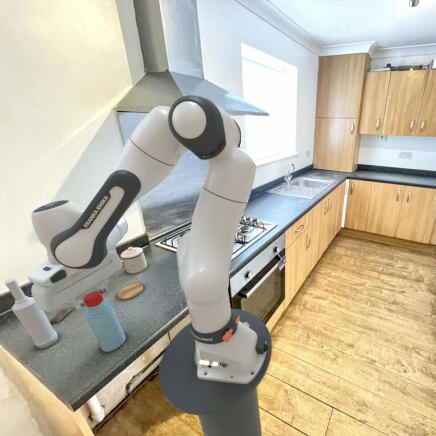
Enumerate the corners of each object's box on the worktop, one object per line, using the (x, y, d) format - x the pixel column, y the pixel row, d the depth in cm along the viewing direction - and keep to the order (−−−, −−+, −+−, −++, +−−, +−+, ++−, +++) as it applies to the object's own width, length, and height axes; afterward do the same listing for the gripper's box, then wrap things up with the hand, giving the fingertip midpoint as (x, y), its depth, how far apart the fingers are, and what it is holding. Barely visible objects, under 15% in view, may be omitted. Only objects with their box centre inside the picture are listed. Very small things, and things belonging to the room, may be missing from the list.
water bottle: (130, 336, 78) (111, 291, 70) (111, 354, 72) (88, 307, 64) (115, 332, 79) (95, 287, 71) (96, 348, 74) (72, 302, 66)
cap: (106, 299, 70) (103, 292, 69) (93, 309, 66) (89, 301, 65) (97, 296, 71) (93, 289, 70) (83, 306, 67) (79, 298, 66)
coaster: (148, 286, 100) (147, 285, 100) (129, 301, 92) (129, 300, 92) (132, 282, 103) (131, 281, 102) (112, 296, 95) (112, 295, 94)
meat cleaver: (76, 311, 88) (66, 308, 89) (75, 308, 88) (65, 306, 89) (37, 336, 78) (27, 333, 79) (36, 333, 77) (26, 330, 78)
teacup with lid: (142, 260, 118) (135, 240, 113) (151, 266, 113) (145, 246, 109) (115, 273, 109) (107, 252, 104) (124, 280, 104) (116, 258, 99)
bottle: (40, 351, 73) (-1, 289, 63) (34, 344, 75) (-7, 283, 65) (61, 339, 77) (25, 278, 67) (55, 332, 79) (19, 273, 69)
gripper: (105, 239, 72) (118, 275, 78) (18, 280, 54) (43, 323, 60) (120, 242, 71) (132, 279, 76) (36, 286, 53) (60, 329, 58)
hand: (92, 299), depth 68 cm, fingers open, 5 cm apart
